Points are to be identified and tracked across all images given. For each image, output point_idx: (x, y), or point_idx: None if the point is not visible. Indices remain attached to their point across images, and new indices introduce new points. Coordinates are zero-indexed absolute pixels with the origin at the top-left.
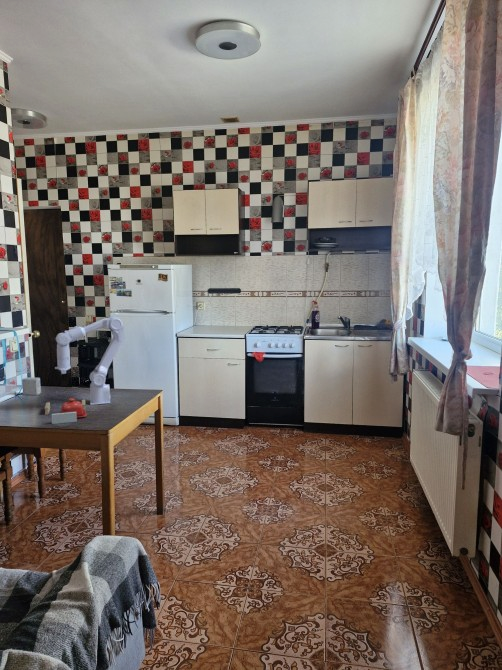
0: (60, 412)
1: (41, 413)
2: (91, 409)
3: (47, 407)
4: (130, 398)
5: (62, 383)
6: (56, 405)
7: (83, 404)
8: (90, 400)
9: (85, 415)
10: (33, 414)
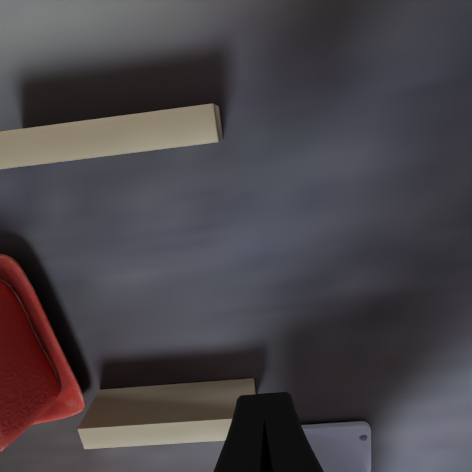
0: (2, 267)
1: (59, 89)
2: None
3: (4, 158)
4: None
5: (231, 437)
6: (314, 181)
7: (88, 438)
8: (353, 429)
9: None
10: (29, 11)
